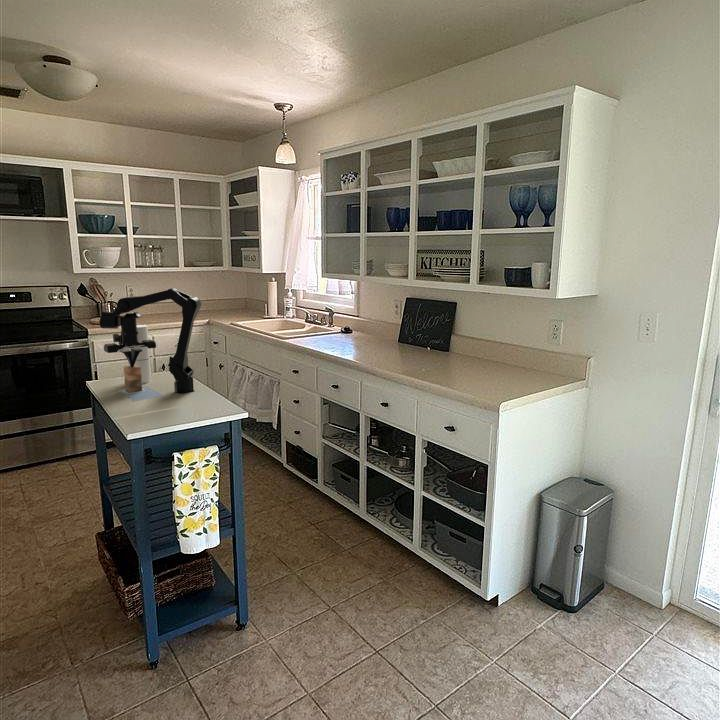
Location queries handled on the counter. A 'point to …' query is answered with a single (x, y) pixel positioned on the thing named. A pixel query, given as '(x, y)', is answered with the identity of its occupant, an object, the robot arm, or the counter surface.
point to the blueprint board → (142, 394)
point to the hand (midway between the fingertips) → (132, 366)
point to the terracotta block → (132, 373)
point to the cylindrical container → (143, 355)
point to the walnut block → (133, 386)
